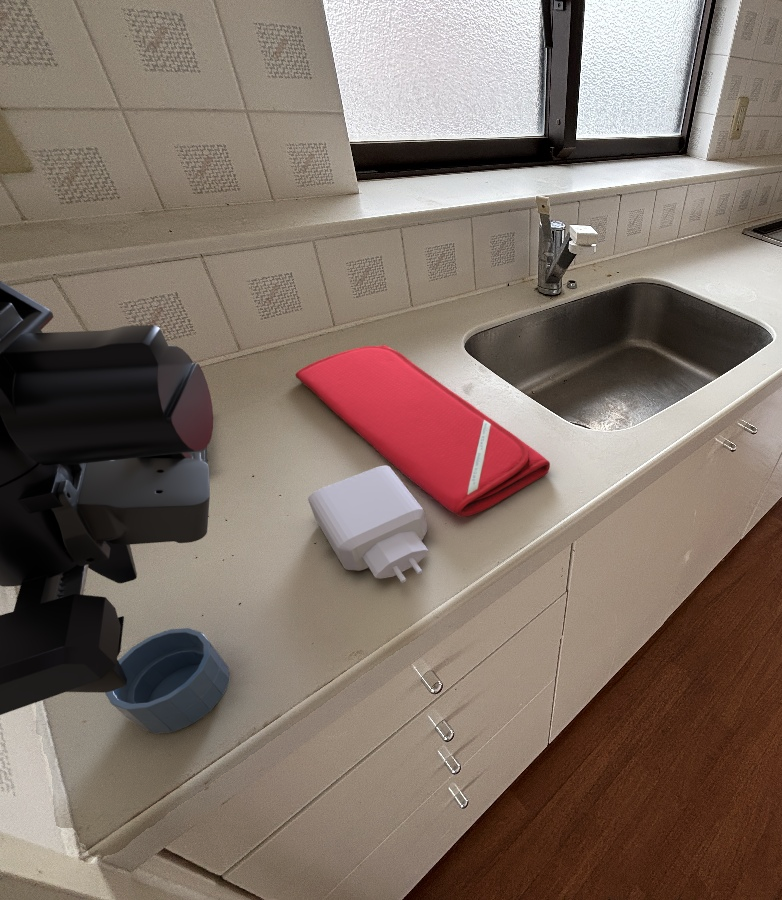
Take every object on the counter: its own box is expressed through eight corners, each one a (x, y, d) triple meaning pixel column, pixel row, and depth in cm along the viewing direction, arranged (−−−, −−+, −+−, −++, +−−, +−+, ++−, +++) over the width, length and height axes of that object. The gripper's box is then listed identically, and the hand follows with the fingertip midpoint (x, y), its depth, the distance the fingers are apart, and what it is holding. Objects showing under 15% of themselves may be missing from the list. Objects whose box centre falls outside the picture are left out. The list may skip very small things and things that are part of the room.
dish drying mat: (390, 352, 87) (386, 333, 84) (552, 471, 68) (554, 451, 66) (296, 382, 77) (289, 361, 75) (456, 531, 58) (454, 509, 56)
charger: (370, 615, 49) (316, 522, 57) (455, 569, 54) (394, 490, 62) (361, 587, 46) (305, 493, 54) (452, 541, 51) (389, 462, 59)
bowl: (134, 752, 38) (100, 725, 35) (140, 679, 42) (109, 649, 39) (233, 710, 41) (210, 682, 38) (229, 646, 45) (208, 616, 42)
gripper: (165, 540, 23) (268, 692, 33) (174, 352, 35) (248, 507, 45) (-221, 643, 18) (38, 787, 28) (-59, 382, 30) (83, 549, 39)
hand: (123, 628), depth 35 cm, fingers open, 9 cm apart
